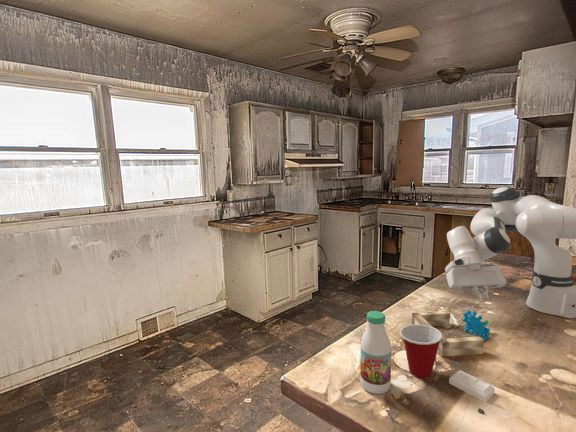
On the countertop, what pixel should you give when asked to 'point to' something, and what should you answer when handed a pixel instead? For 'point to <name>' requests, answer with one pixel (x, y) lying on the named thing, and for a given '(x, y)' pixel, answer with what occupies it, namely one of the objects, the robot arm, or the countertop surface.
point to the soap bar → (472, 385)
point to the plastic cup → (421, 348)
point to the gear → (476, 325)
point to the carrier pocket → (454, 344)
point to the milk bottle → (375, 355)
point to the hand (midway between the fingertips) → (484, 299)
